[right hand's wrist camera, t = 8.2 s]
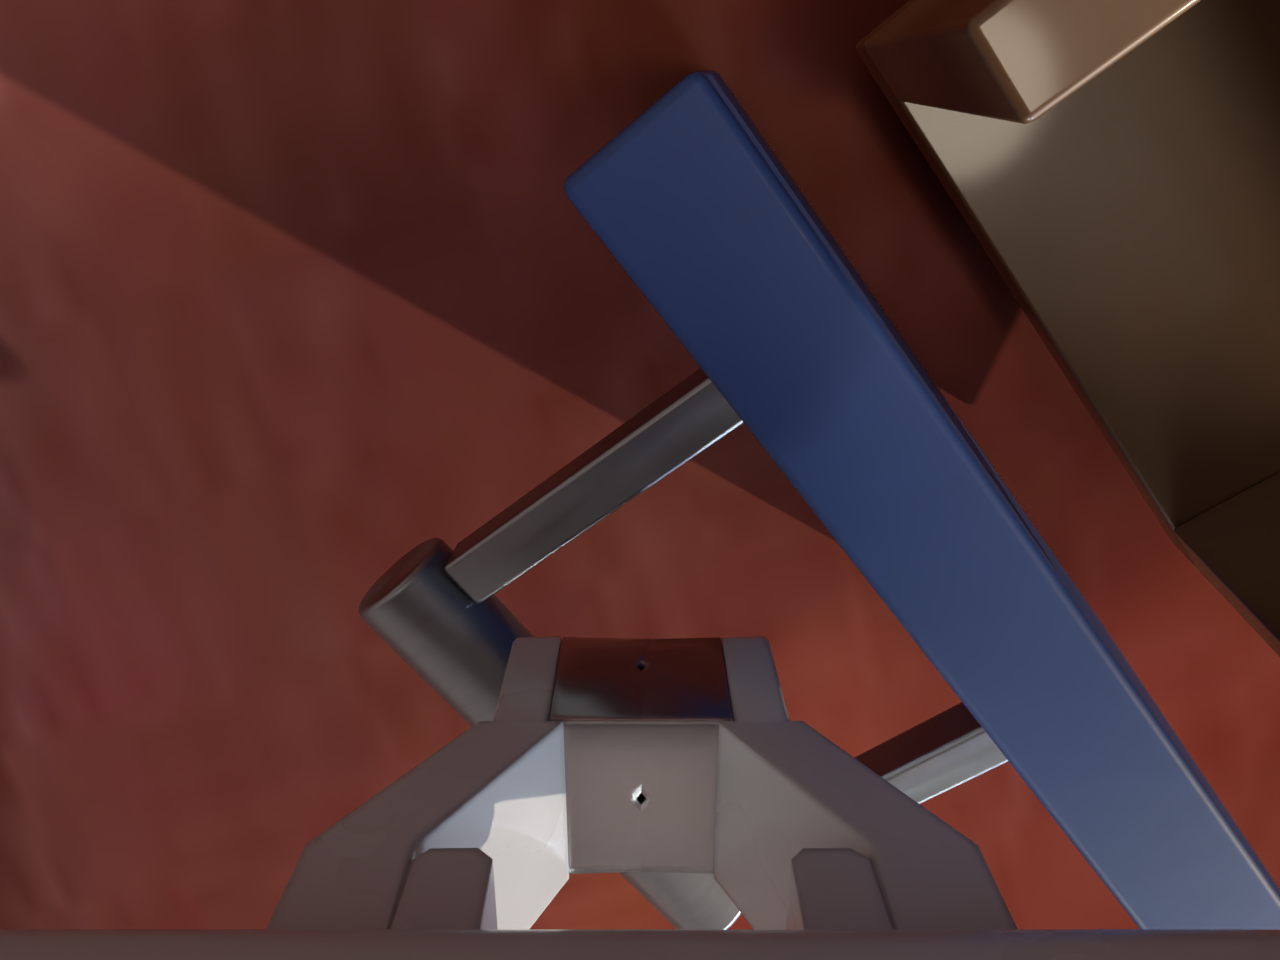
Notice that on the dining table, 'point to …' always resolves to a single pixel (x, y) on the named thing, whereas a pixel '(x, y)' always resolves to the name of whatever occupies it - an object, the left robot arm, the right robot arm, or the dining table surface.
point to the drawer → (927, 425)
